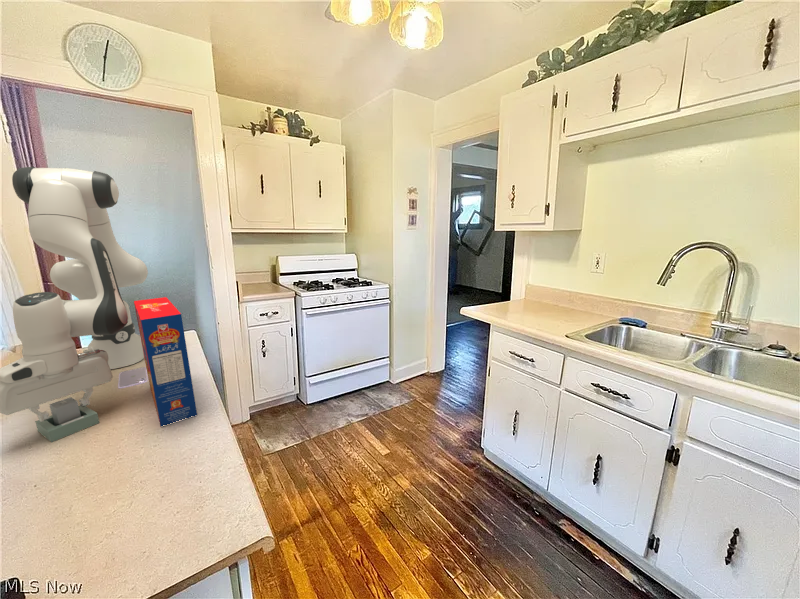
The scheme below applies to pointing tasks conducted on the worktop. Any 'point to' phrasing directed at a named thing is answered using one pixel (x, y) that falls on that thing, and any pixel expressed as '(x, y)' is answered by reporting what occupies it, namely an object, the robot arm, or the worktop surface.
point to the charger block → (65, 411)
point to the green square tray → (67, 425)
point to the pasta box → (166, 359)
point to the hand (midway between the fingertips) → (65, 412)
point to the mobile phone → (132, 377)
